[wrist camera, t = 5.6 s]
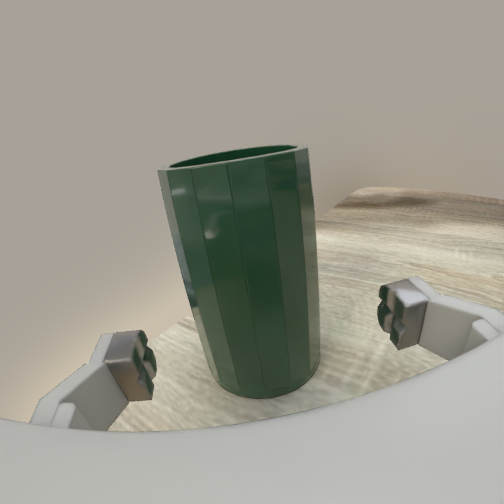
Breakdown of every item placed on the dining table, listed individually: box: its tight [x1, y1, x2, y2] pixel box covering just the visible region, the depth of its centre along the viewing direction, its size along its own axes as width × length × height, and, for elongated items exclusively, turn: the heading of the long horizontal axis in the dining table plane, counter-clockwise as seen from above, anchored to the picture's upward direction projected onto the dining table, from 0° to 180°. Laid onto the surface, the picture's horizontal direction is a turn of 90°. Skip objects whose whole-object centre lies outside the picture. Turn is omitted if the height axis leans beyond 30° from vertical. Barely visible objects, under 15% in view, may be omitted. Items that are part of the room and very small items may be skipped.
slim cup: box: [158, 144, 320, 398], centre depth 15 cm, size 7×7×12 cm
